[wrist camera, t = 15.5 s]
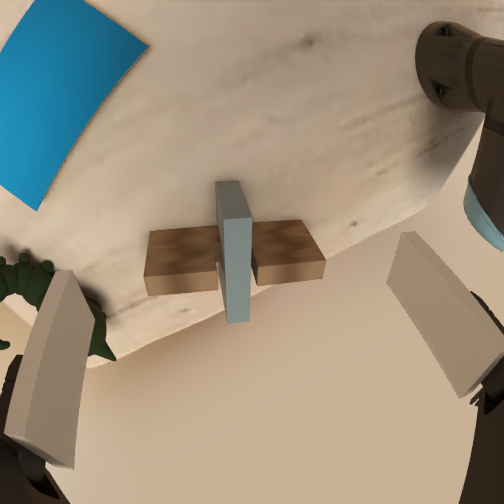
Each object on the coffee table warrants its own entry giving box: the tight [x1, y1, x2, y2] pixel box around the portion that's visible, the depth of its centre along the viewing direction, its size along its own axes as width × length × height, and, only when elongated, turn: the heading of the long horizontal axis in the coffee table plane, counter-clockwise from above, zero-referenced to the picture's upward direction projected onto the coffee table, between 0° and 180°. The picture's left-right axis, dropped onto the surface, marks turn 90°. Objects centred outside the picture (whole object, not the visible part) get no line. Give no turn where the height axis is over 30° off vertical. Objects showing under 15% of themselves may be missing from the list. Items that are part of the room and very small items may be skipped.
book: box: [0, 0, 150, 211], centre depth 26 cm, size 17×4×25 cm
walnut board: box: [144, 220, 326, 296], centre depth 41 cm, size 22×3×10 cm, turn 88°
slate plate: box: [216, 181, 252, 323], centre depth 41 cm, size 16×3×10 cm, turn 179°
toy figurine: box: [0, 252, 116, 361], centre depth 37 cm, size 9×19×25 cm
